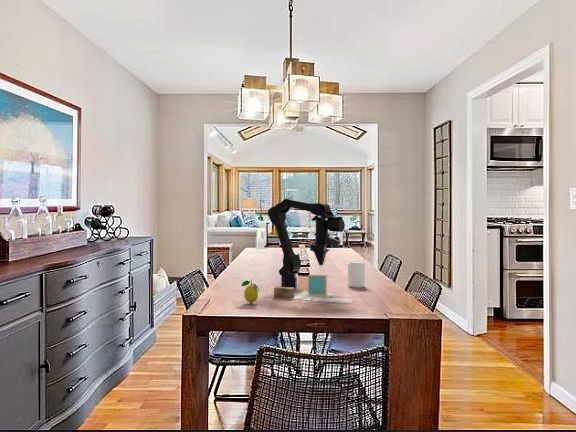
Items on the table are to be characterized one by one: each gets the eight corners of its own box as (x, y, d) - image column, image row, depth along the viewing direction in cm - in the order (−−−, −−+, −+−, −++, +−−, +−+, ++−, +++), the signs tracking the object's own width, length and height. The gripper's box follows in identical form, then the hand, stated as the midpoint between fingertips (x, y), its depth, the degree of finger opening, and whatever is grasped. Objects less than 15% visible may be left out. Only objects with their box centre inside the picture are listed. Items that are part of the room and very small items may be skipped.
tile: (308, 292, 229) (308, 275, 229) (309, 292, 231) (309, 274, 230) (325, 294, 227) (325, 275, 227) (326, 293, 228) (326, 275, 228)
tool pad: (312, 301, 212) (312, 300, 212) (316, 298, 220) (316, 297, 220) (350, 304, 207) (350, 303, 207) (354, 300, 215) (354, 299, 215)
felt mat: (296, 296, 222) (296, 295, 222) (303, 292, 233) (303, 291, 233) (328, 299, 218) (328, 298, 218) (334, 294, 229) (334, 293, 229)
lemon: (240, 302, 208) (241, 277, 208) (254, 301, 210) (254, 277, 210) (246, 305, 202) (246, 280, 201) (260, 304, 204) (260, 279, 204)
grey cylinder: (364, 288, 245) (364, 263, 245) (347, 287, 247) (347, 262, 246) (365, 285, 253) (365, 261, 253) (348, 285, 255) (348, 260, 254)
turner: (272, 299, 216) (272, 288, 216) (277, 296, 223) (277, 285, 223) (309, 301, 212) (309, 290, 212) (313, 298, 218) (313, 288, 218)
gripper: (335, 232, 223) (334, 268, 224) (343, 230, 241) (342, 263, 242) (310, 231, 227) (309, 267, 227) (320, 229, 245) (319, 262, 245)
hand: (321, 265), depth 235 cm, fingers closed
